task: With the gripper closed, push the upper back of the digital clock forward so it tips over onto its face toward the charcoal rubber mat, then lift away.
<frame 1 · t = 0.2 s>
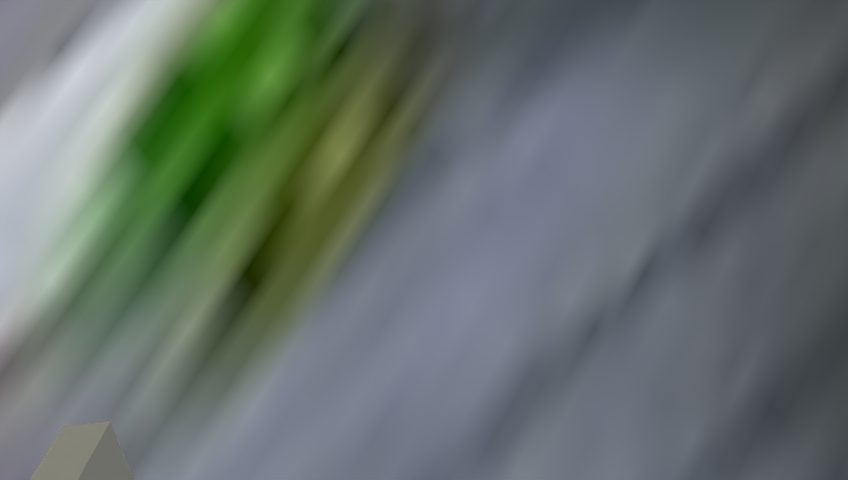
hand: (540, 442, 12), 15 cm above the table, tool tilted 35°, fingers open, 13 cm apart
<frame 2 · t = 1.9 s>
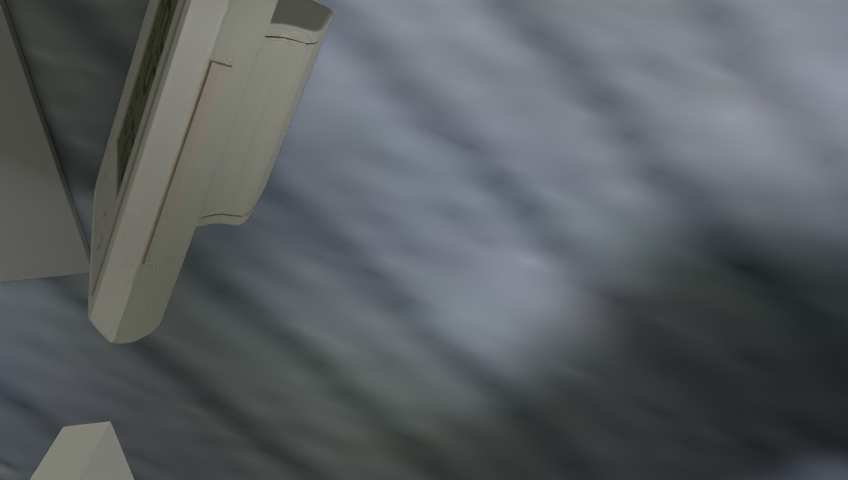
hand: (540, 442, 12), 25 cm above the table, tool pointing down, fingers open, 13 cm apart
digital clock: (210, 62, 35), on the table
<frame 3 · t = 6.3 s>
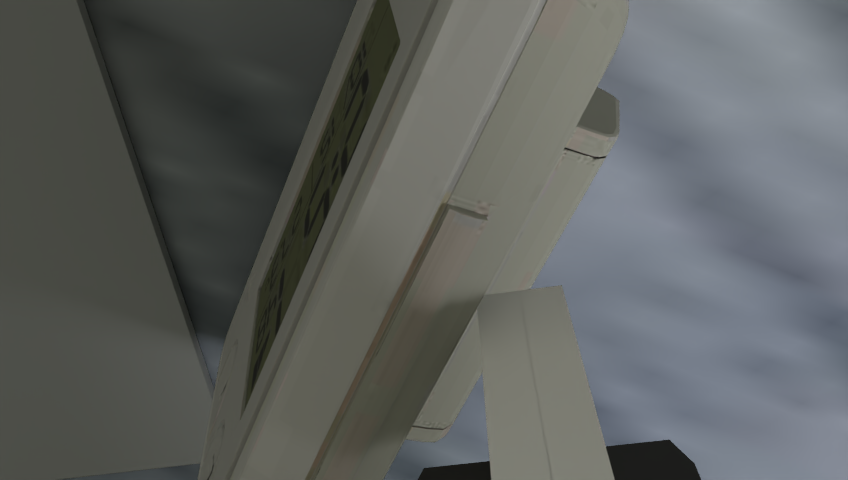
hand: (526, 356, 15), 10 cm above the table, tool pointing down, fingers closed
digital clock: (410, 168, 23), on the table
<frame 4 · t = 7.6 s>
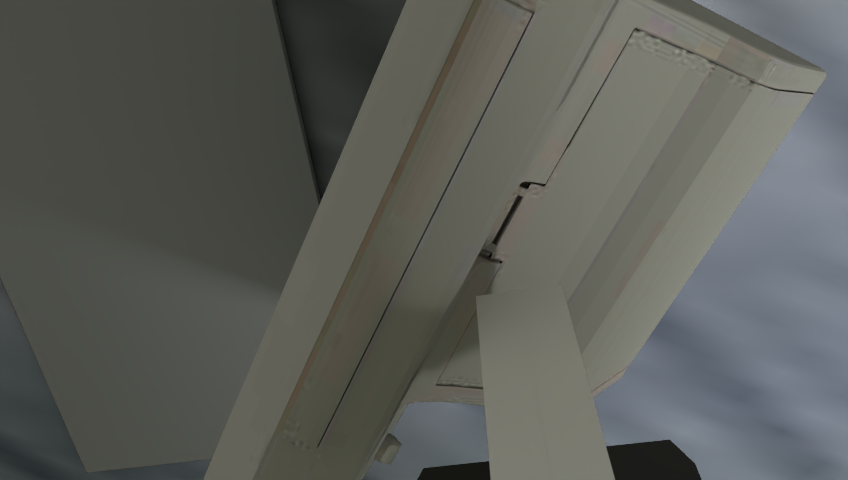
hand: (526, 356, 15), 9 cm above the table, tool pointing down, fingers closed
digital clock: (581, 147, 21), point 2 cm above the table
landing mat: (151, 212, 24), on the table
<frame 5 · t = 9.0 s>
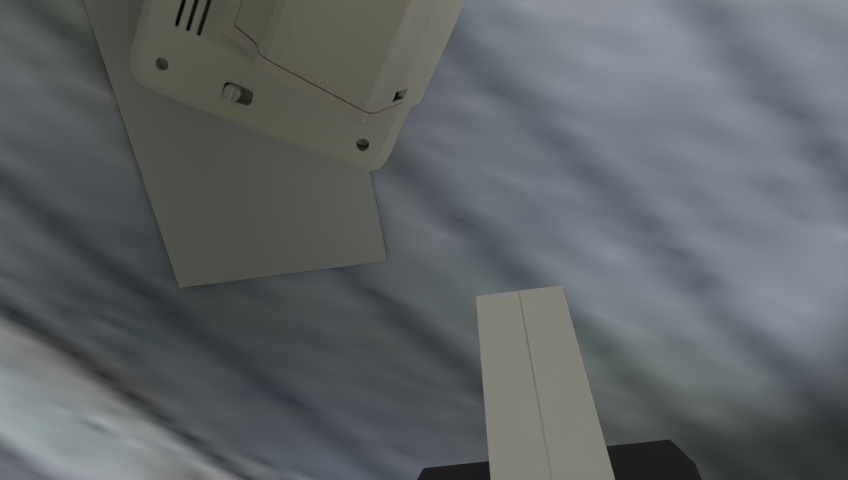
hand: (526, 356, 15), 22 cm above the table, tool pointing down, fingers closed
digital clock: (456, 5, 29), point 4 cm above the table, touching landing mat
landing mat: (235, 86, 35), on the table
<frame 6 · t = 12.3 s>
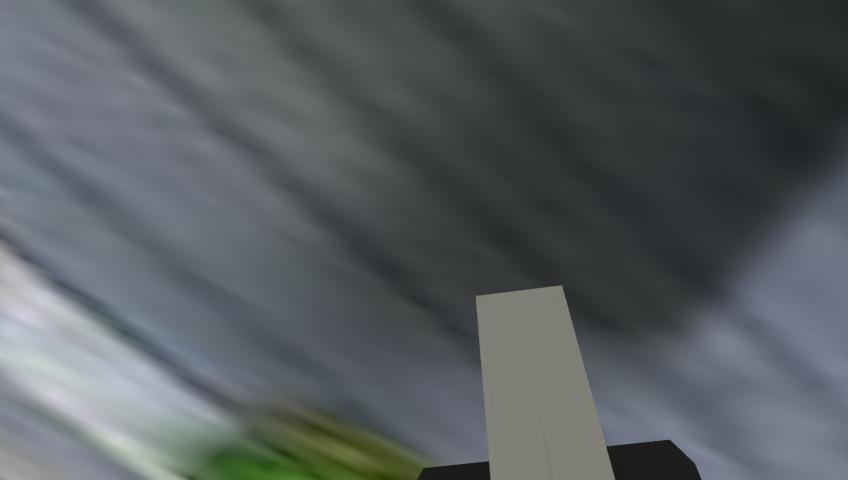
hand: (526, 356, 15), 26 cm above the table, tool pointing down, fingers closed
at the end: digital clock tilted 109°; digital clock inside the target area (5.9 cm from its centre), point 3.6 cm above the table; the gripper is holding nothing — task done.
